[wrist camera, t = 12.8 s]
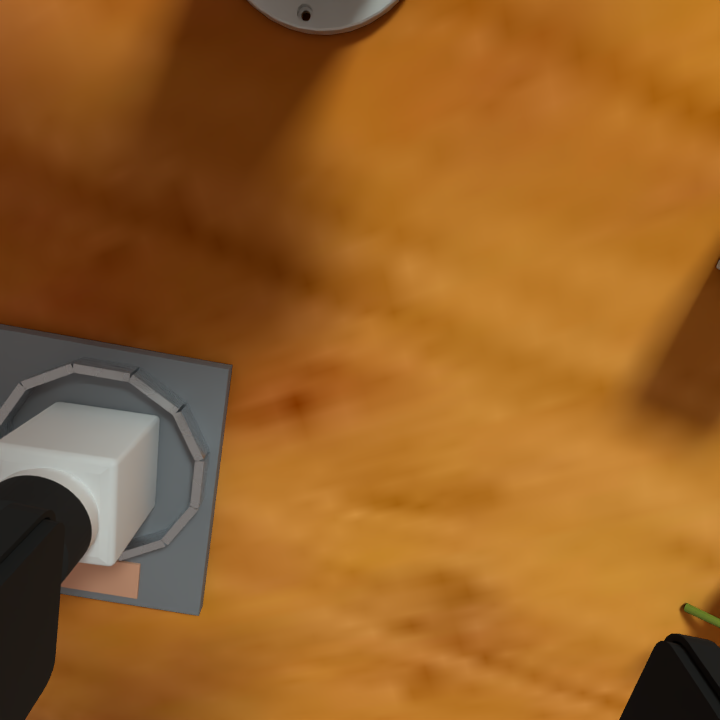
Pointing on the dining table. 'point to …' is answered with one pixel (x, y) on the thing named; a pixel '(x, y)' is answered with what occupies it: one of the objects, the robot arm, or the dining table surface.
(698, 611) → the water lily
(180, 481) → the socket board
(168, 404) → the steel rings
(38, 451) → the medicine bottle
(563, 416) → the dining table surface
